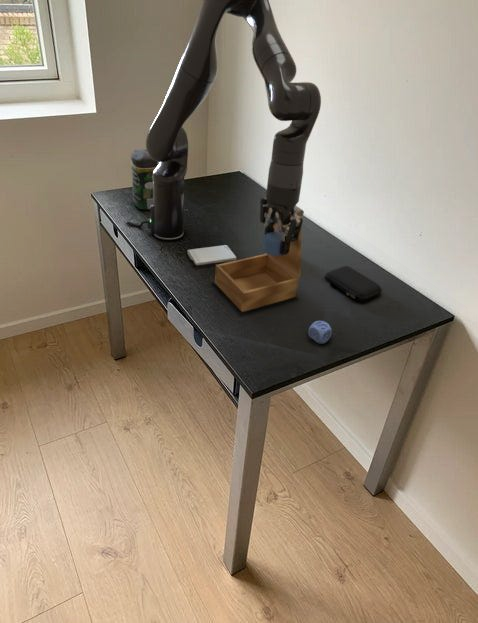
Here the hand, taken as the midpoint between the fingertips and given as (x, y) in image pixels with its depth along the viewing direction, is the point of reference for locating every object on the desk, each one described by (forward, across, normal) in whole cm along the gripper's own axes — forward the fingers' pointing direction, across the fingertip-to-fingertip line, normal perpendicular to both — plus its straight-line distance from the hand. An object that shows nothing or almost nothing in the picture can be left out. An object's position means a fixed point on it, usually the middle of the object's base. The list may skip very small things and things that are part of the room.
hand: (275, 247), depth 117 cm
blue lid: (+1, 0, 0) cm, 1 cm away
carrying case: (+16, +4, +25) cm, 30 cm away
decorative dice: (+17, +18, +3) cm, 24 cm away
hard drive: (+16, -26, -3) cm, 31 cm away
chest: (+16, -6, -1) cm, 17 cm away
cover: (+1, -6, +6) cm, 8 cm away
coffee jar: (+15, -67, -7) cm, 69 cm away
